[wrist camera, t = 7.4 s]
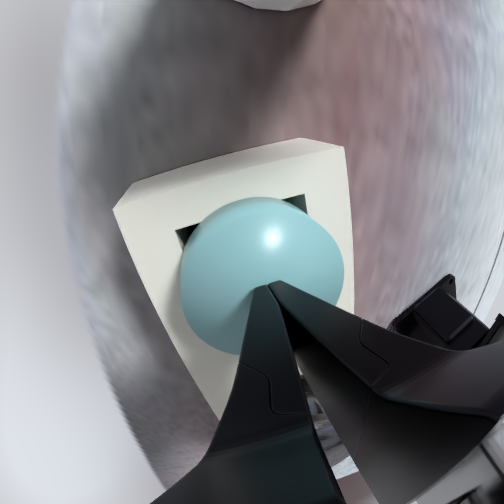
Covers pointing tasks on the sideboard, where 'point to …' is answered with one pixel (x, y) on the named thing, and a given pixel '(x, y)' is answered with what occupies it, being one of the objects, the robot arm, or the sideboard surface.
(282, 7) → the white cup
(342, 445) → the pot dial
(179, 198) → the knob housing
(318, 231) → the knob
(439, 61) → the sideboard surface
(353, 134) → the sideboard surface
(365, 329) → the robot arm
